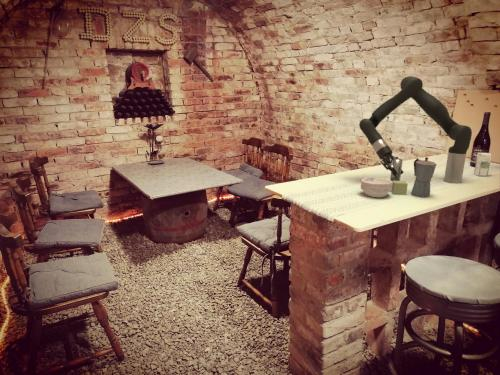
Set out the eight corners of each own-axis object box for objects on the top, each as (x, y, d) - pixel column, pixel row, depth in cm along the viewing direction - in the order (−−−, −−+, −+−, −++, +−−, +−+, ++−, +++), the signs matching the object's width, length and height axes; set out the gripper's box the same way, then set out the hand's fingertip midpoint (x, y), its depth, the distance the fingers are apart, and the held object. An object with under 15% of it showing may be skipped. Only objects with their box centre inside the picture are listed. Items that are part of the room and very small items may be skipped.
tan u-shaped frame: (382, 185, 200) (383, 175, 198) (401, 186, 199) (402, 176, 197) (389, 194, 184) (390, 182, 183) (409, 195, 183) (410, 183, 181)
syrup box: (482, 174, 229) (486, 152, 225) (487, 176, 223) (492, 154, 220) (473, 174, 230) (477, 152, 226) (478, 176, 224) (482, 153, 220)
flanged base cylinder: (387, 182, 197) (390, 158, 193) (398, 183, 196) (402, 158, 192) (390, 185, 191) (393, 160, 187) (401, 186, 190) (405, 160, 186)
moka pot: (422, 199, 175) (428, 160, 170) (401, 191, 189) (406, 154, 184) (438, 198, 178) (444, 159, 172) (416, 190, 192) (421, 153, 186)
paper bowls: (366, 189, 193) (368, 175, 191) (395, 194, 184) (396, 179, 182) (355, 195, 182) (356, 180, 179) (384, 201, 172) (386, 185, 170)
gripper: (379, 146, 190) (396, 172, 183) (394, 143, 198) (411, 168, 192) (369, 154, 195) (386, 179, 189) (384, 151, 203) (401, 176, 197)
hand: (399, 174), depth 190 cm, fingers closed on flanged base cylinder, 5 cm apart
